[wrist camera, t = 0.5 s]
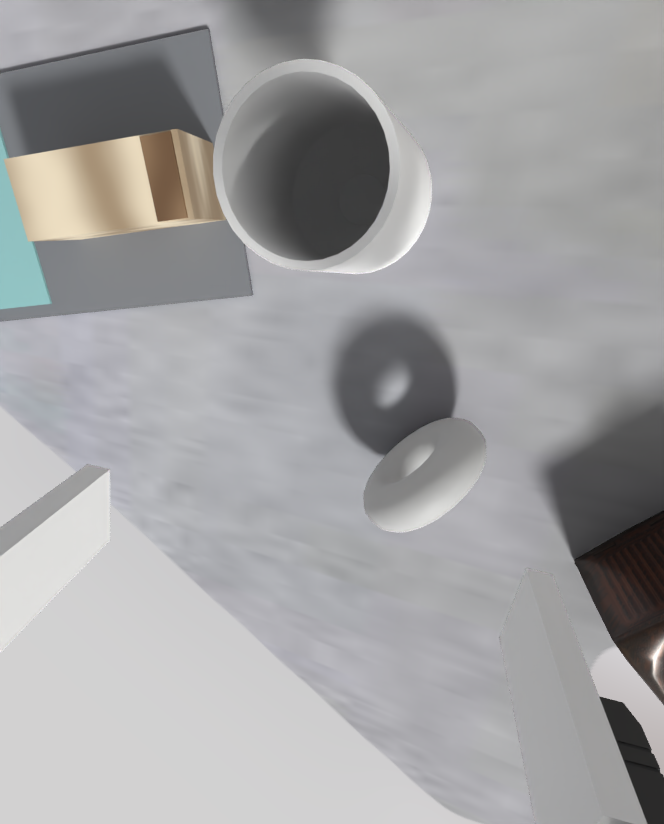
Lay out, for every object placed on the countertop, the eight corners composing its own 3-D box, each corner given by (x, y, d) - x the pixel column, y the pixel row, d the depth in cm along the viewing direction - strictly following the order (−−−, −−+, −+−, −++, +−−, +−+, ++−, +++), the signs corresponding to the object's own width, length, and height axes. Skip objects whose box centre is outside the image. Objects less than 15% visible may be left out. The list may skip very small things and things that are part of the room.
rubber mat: (-124, 101, 38) (-128, 100, 37) (209, 30, 32) (207, 28, 32) (-43, 325, 43) (-46, 326, 43) (253, 294, 38) (251, 295, 38)
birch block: (80, 239, 38) (26, 241, 33) (61, 168, 37) (1, 158, 32) (226, 220, 36) (193, 218, 31) (212, 143, 35) (175, 128, 29)
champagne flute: (390, 277, 36) (342, 356, 14) (312, 223, 36) (135, 215, 13) (448, 191, 33) (504, 119, 11) (365, 131, 33) (254, -64, 11)
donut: (387, 492, 42) (378, 567, 33) (360, 462, 42) (344, 530, 32) (487, 424, 39) (509, 486, 29) (460, 391, 38) (473, 444, 29)
